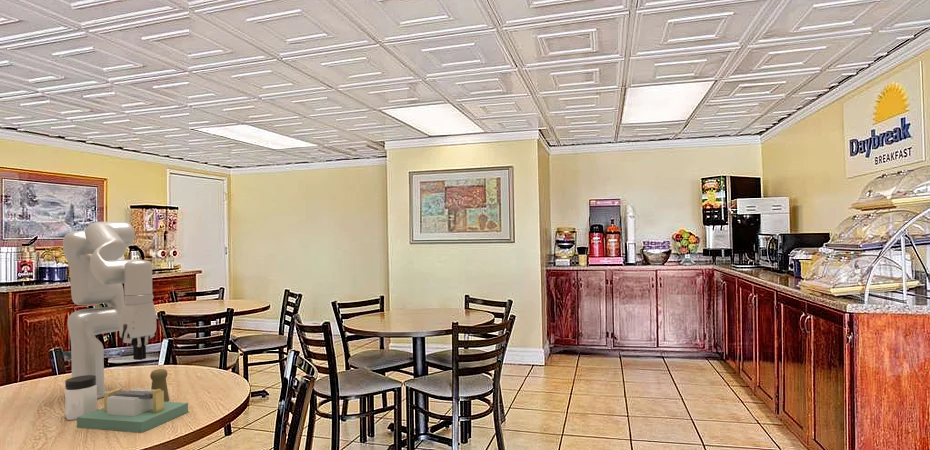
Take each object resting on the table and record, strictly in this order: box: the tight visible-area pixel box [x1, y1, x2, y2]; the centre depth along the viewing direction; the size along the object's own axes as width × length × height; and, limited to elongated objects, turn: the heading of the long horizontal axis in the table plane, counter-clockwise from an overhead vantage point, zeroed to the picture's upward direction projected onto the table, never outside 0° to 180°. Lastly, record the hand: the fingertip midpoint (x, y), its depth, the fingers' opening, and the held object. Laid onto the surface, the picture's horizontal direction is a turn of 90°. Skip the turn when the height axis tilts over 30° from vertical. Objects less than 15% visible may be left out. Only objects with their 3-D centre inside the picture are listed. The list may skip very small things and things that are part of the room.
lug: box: [151, 389, 164, 413], centre depth 167 cm, size 2×3×6 cm, turn 165°
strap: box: [115, 390, 154, 399], centre depth 169 cm, size 13×3×2 cm, turn 75°
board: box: [76, 388, 189, 433], centre depth 169 cm, size 24×18×8 cm
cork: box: [149, 368, 170, 402], centre depth 188 cm, size 6×6×11 cm
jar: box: [64, 375, 98, 421], centre depth 175 cm, size 9×8×12 cm
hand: (139, 359), depth 169 cm, fingers closed
